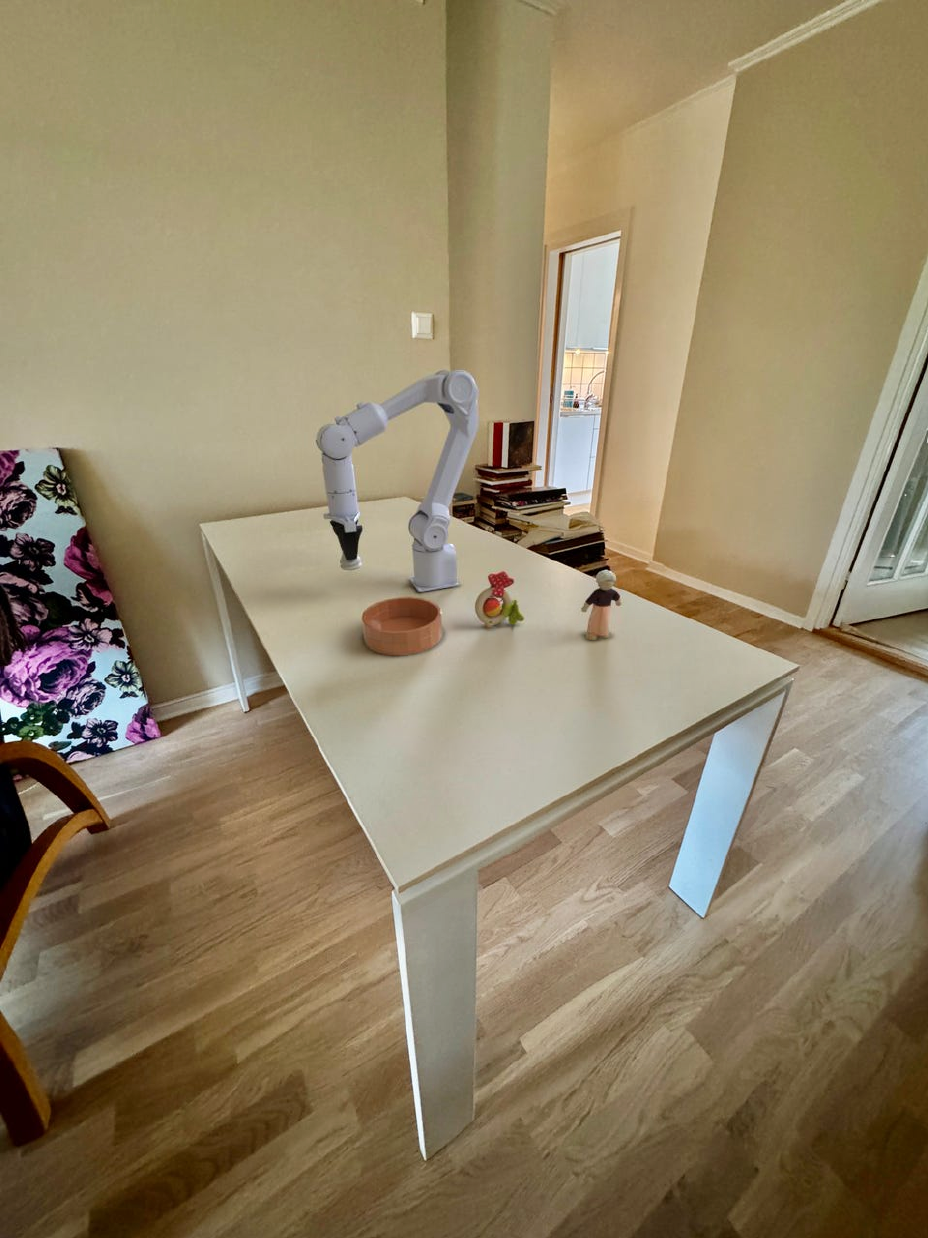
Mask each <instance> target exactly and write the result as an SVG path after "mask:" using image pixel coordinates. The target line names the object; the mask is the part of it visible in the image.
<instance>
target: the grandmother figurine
mask: <svg viewBox="0 0 928 1238" xmlns="http://www.w3.org/2000/svg"><path fill="white" fill-rule="evenodd" d="M595 579H596V580H595V582H596V583H597V586H598V588H596V589H595V590H593V591H592V593H591V594H589V596H588V597H587V598H586V600H585V601H584V604H583V606H582V607H581V608H580V611H581V612H582V613H586V612H588V609H589V608H590V606H592V608H591V611H590V615H589V616H588V617H589V618H588V622H587V629H586V632H585V638H586V639H587V640H589V641H596V640H597V639H598V637H599V638H602V639H607V638H609V637H610V633H609V632H610V611H611V607H612V601H614V603H615V606H616V607H620V606H621V605H622V601H621V595H620V593H619V592H618V591H617V590H615V589H613V586H614V584H615V582H616V581H617V576H616V573H614V572H612V571H611V570H608V569H604V570H601V571H599V572H598V573H597V574H596V575H595Z"/></svg>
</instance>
